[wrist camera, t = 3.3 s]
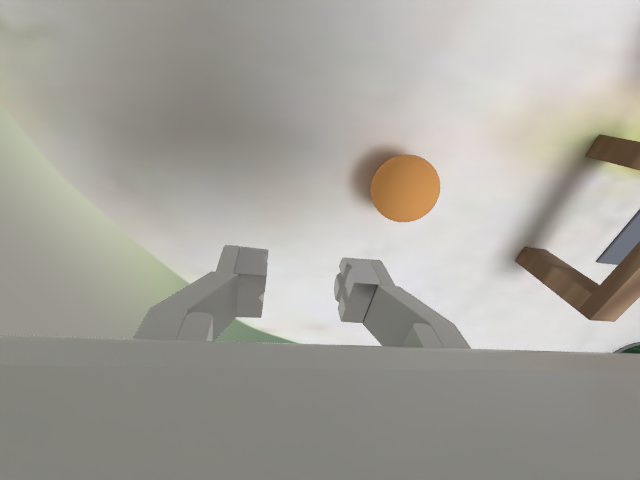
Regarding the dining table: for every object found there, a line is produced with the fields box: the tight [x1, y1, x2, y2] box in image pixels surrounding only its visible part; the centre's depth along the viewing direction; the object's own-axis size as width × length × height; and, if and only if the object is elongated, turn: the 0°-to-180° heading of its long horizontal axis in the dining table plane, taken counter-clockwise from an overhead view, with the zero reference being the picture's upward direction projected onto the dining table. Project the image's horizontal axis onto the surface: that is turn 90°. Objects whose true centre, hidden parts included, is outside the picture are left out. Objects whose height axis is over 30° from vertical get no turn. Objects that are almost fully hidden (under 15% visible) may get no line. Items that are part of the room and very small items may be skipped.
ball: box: [371, 155, 440, 222], centre depth 23 cm, size 6×6×6 cm
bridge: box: [516, 135, 640, 322], centre depth 25 cm, size 3×14×9 cm, turn 168°
